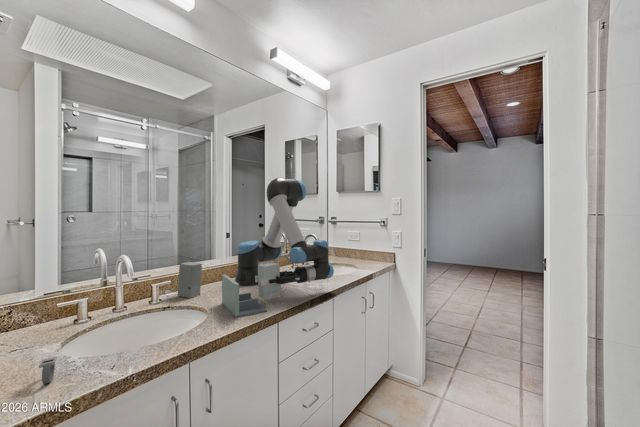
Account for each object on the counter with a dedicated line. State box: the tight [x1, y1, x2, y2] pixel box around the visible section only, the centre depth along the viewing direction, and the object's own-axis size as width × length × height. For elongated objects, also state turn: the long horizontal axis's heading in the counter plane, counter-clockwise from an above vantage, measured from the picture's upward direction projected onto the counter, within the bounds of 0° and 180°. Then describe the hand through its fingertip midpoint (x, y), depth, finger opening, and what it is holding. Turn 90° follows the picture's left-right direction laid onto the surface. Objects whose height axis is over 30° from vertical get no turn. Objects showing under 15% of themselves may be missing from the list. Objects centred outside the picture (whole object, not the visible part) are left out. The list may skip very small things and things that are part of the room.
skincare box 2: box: [257, 261, 281, 301], centre depth 125 cm, size 8×6×15 cm
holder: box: [221, 274, 268, 319], centre depth 119 cm, size 20×13×13 cm, turn 33°
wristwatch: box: [38, 356, 58, 385], centre depth 67 cm, size 6×3×5 cm, turn 35°
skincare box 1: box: [177, 261, 203, 299], centre depth 136 cm, size 8×7×16 cm
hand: (258, 280), depth 123 cm, fingers closed on skincare box 2, 6 cm apart
